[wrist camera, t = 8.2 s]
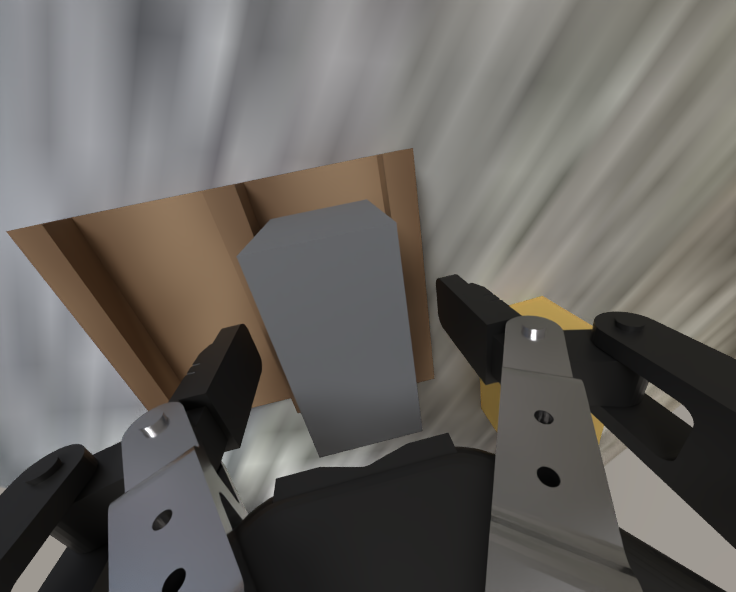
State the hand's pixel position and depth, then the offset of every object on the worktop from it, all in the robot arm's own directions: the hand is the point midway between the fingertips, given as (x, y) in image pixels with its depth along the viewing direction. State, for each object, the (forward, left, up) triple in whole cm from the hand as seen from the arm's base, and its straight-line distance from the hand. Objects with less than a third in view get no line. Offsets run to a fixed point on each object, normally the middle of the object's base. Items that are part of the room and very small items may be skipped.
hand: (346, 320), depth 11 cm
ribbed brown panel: (-3, 0, -3) cm, 4 cm away
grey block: (0, 0, -2) cm, 2 cm away
